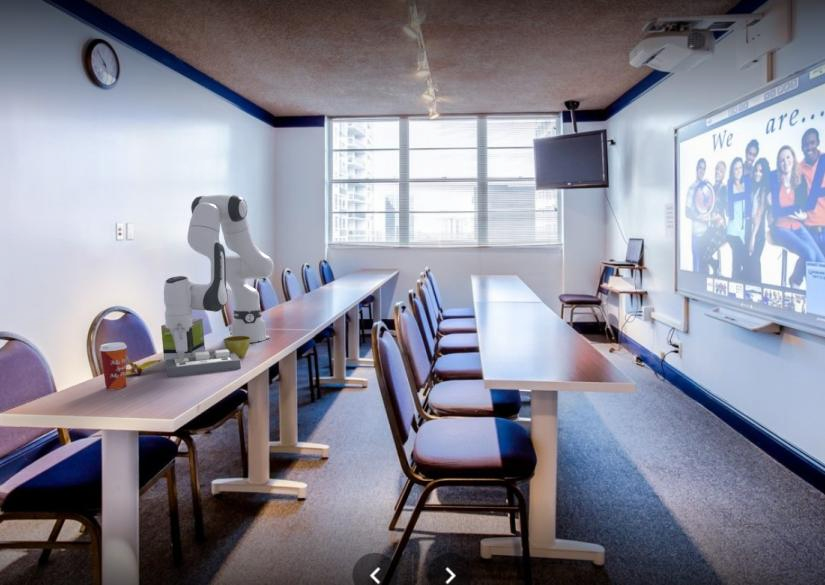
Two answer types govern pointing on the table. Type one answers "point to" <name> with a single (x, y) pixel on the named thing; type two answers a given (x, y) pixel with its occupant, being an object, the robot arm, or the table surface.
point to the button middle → (202, 356)
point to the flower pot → (237, 344)
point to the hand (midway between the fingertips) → (181, 360)
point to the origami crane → (139, 368)
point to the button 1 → (181, 361)
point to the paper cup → (114, 364)
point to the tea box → (193, 341)
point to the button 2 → (222, 353)
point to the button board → (202, 365)
